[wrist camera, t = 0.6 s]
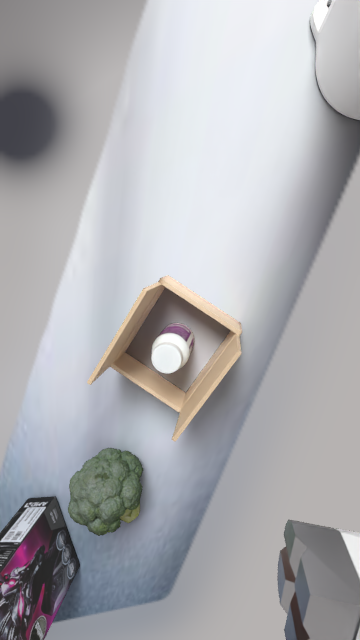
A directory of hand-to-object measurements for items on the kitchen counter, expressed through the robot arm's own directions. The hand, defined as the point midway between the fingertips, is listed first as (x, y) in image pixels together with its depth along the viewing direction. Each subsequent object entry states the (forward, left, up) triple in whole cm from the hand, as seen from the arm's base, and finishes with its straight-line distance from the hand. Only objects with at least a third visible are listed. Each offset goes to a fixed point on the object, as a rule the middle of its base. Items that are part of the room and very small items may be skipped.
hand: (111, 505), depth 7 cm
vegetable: (+36, +5, -41) cm, 55 cm away
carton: (+9, 0, -40) cm, 41 cm away
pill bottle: (+9, 0, -41) cm, 42 cm away
